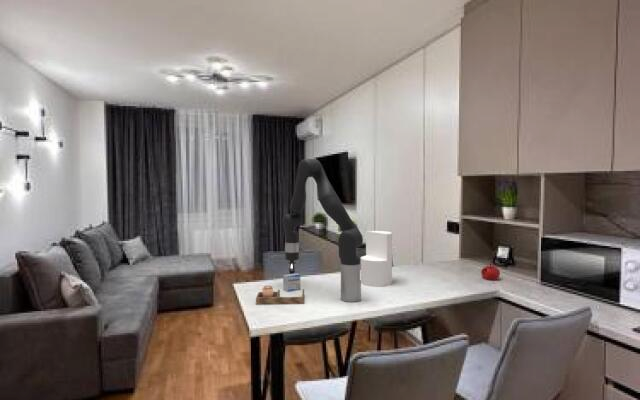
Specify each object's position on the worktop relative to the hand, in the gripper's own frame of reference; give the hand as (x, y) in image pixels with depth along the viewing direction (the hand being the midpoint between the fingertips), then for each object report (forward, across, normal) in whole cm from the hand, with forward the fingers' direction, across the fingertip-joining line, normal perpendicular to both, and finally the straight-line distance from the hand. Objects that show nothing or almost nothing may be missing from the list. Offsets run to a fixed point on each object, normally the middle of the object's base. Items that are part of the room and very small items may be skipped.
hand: (292, 282), depth 205 cm
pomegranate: (+1, +8, -114) cm, 114 cm away
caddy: (+2, -27, +4) cm, 27 cm away
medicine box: (+2, -10, 0) cm, 10 cm away
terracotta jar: (+1, -29, +10) cm, 30 cm away
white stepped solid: (+2, +4, -47) cm, 47 cm away
